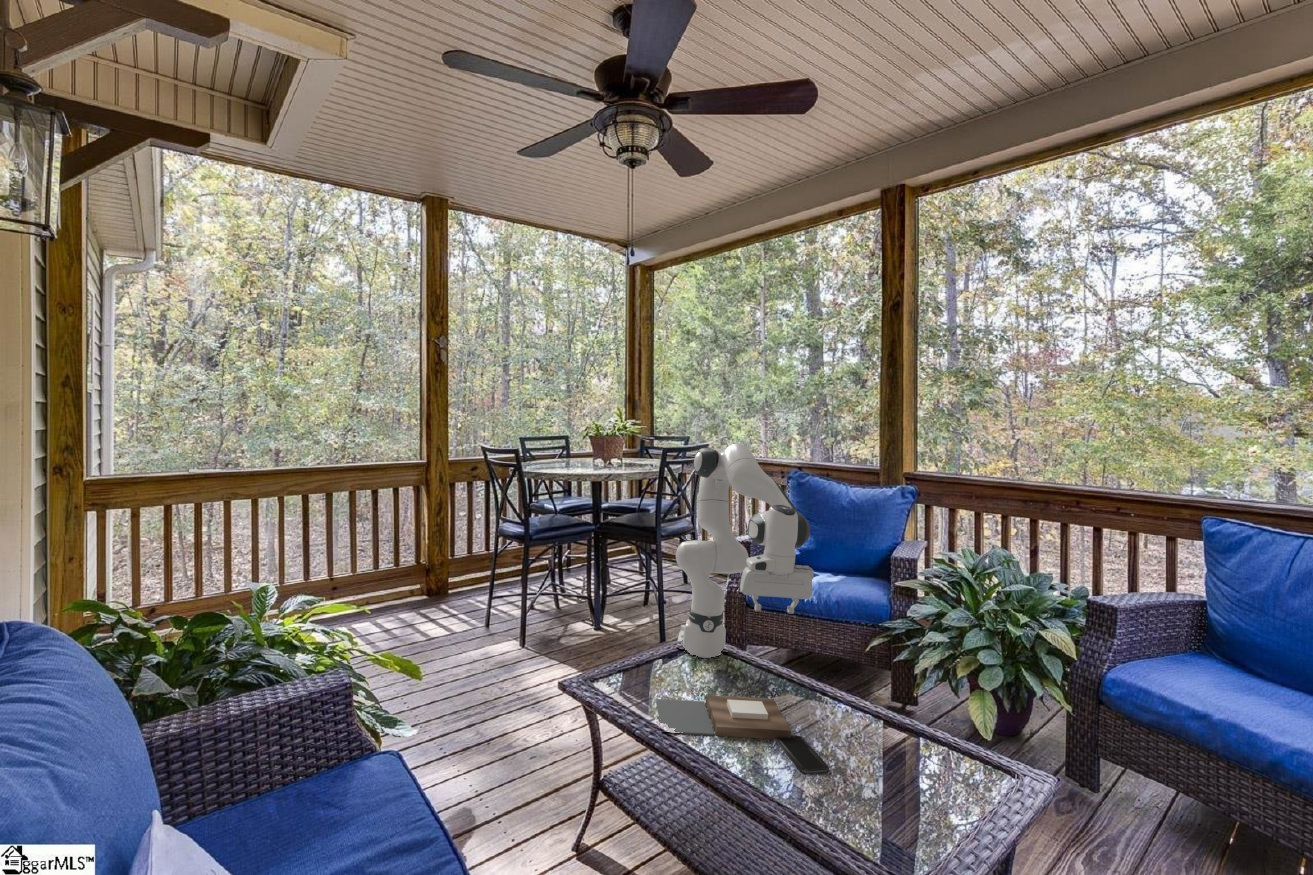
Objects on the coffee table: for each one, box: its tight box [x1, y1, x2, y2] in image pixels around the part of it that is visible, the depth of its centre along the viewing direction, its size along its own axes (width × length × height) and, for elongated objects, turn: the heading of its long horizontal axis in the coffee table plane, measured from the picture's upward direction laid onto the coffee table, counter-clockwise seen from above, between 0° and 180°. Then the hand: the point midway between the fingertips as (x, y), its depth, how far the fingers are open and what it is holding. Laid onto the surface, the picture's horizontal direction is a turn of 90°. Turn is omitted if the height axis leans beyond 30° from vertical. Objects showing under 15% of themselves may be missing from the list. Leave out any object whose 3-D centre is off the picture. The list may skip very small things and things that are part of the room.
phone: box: [775, 735, 830, 775], centre depth 154 cm, size 8×1×15 cm
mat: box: [655, 698, 715, 737], centre depth 167 cm, size 17×14×1 cm
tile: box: [727, 699, 768, 720], centre depth 169 cm, size 7×10×2 cm
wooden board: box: [705, 694, 792, 740], centre depth 169 cm, size 17×20×2 cm
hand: (773, 611), depth 171 cm, fingers open, 8 cm apart
